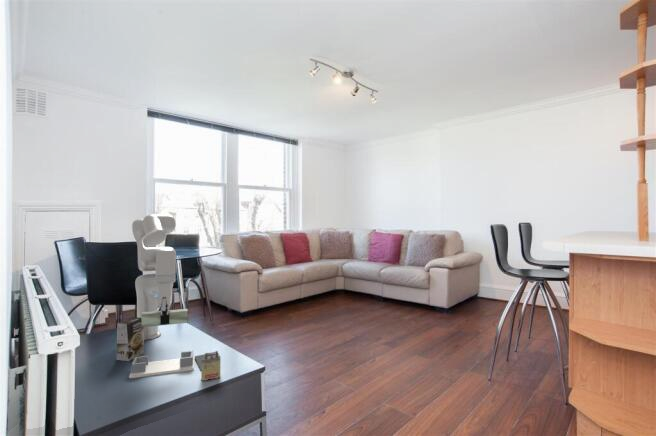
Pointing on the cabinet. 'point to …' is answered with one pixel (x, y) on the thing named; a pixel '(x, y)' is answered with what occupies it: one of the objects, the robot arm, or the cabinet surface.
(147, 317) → the rail
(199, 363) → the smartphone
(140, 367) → the bracket board
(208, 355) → the worn yellow tin
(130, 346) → the coffee box
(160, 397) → the cabinet surface
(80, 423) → the cabinet surface
